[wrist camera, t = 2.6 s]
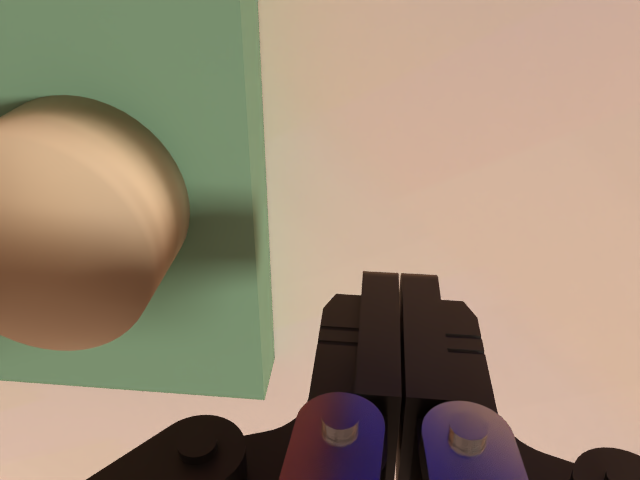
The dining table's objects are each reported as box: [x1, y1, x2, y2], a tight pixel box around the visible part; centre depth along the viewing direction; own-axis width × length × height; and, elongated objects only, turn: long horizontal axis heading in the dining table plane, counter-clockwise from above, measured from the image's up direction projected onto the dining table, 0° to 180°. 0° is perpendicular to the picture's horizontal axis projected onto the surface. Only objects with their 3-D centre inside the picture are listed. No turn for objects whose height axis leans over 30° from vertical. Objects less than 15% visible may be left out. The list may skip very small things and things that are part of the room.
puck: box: [0, 95, 190, 351], centre depth 15 cm, size 6×6×3 cm
